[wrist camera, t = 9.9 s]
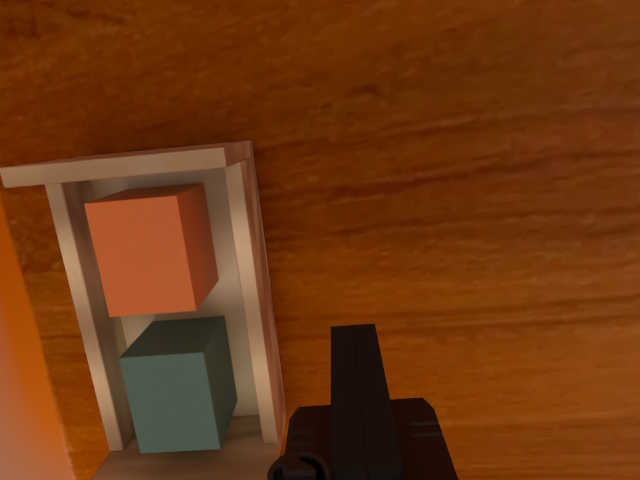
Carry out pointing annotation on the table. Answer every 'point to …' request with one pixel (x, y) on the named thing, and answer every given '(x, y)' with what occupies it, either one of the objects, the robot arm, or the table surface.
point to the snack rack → (171, 307)
